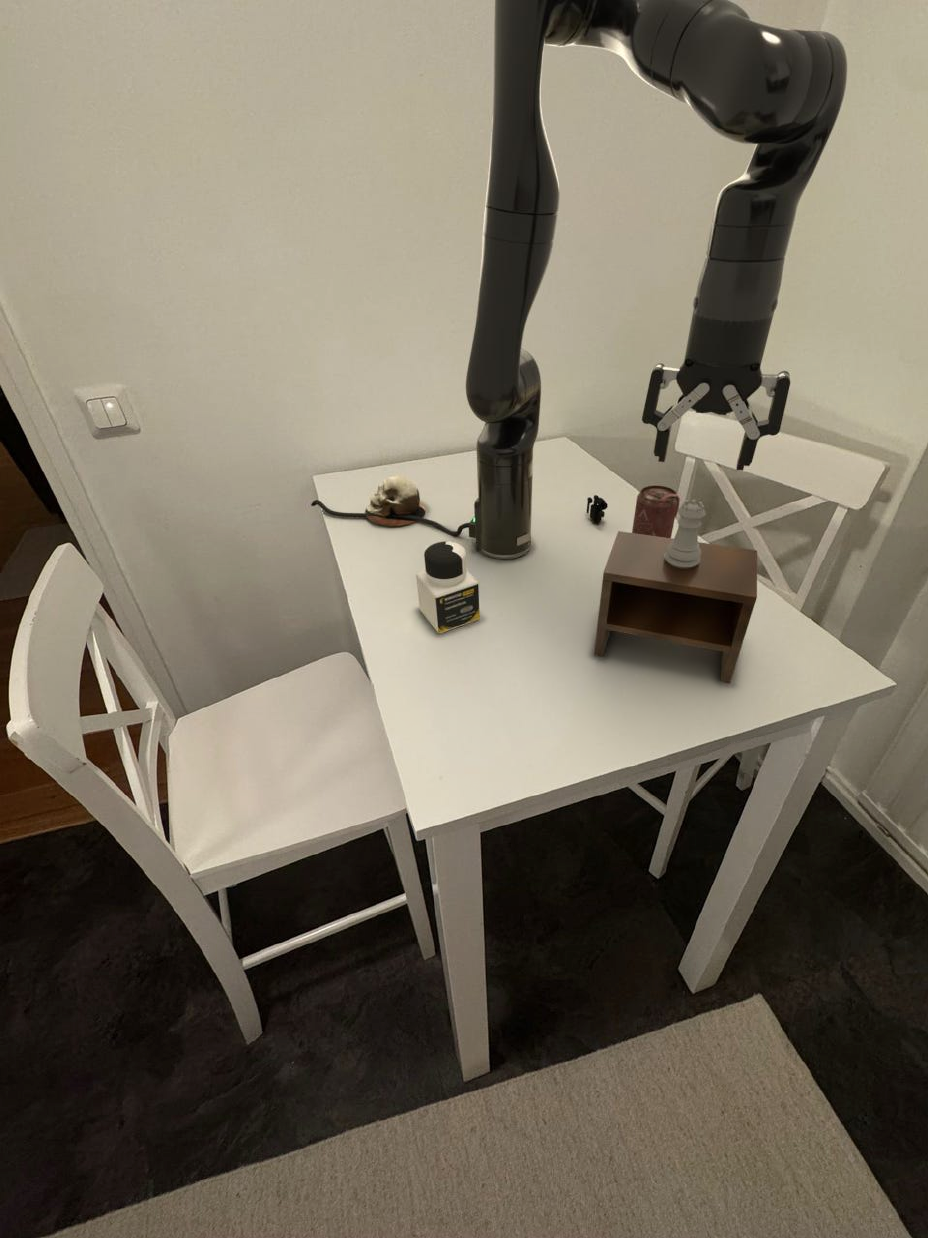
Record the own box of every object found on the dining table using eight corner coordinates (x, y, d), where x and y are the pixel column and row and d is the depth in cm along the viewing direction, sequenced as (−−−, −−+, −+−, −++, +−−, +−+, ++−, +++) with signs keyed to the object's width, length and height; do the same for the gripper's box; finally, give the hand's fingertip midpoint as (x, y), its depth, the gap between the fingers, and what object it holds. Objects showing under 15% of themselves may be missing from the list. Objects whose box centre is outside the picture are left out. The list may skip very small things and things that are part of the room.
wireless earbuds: (584, 513, 118) (586, 489, 115) (596, 511, 118) (598, 487, 115) (598, 530, 112) (601, 506, 109) (611, 528, 113) (614, 504, 110)
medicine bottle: (438, 634, 90) (432, 567, 83) (419, 610, 95) (411, 544, 88) (480, 619, 93) (478, 553, 85) (459, 596, 98) (455, 531, 90)
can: (667, 580, 99) (682, 502, 90) (627, 577, 100) (638, 500, 91) (665, 560, 103) (679, 484, 95) (627, 557, 105) (637, 482, 96)
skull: (356, 524, 116) (358, 472, 117) (372, 536, 126) (374, 488, 127) (417, 524, 114) (419, 471, 115) (428, 535, 124) (430, 487, 125)
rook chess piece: (694, 573, 75) (707, 516, 70) (658, 564, 77) (669, 508, 72) (703, 556, 78) (716, 500, 73) (669, 548, 80) (679, 493, 75)
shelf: (593, 655, 85) (603, 572, 76) (608, 610, 93) (618, 530, 84) (730, 683, 80) (757, 597, 71) (732, 632, 88) (757, 550, 79)
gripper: (810, 303, 60) (766, 457, 70) (663, 299, 65) (641, 444, 75) (815, 320, 55) (766, 485, 65) (654, 314, 59) (632, 469, 69)
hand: (699, 463), depth 70 cm, fingers open, 8 cm apart
